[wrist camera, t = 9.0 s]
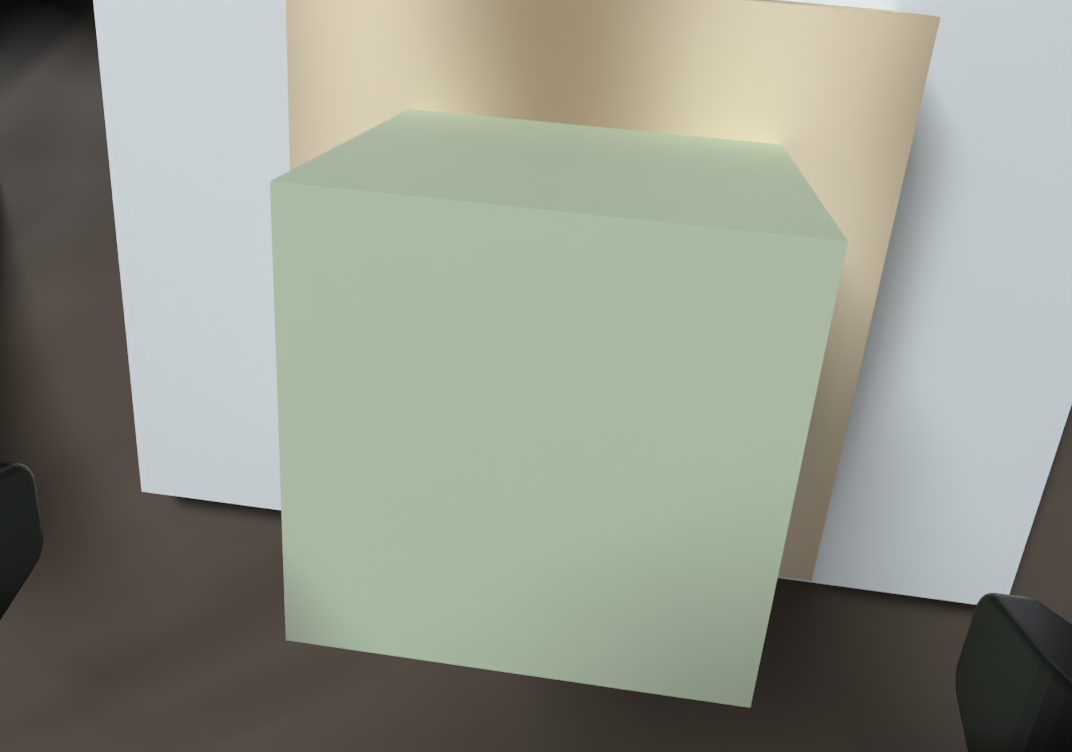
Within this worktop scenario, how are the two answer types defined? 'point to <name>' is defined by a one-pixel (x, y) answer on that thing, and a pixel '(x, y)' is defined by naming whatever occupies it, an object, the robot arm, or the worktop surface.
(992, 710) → the robot arm
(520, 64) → the birch plinth
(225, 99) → the pale blue-grey board
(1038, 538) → the worktop surface
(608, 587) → the sage cube
